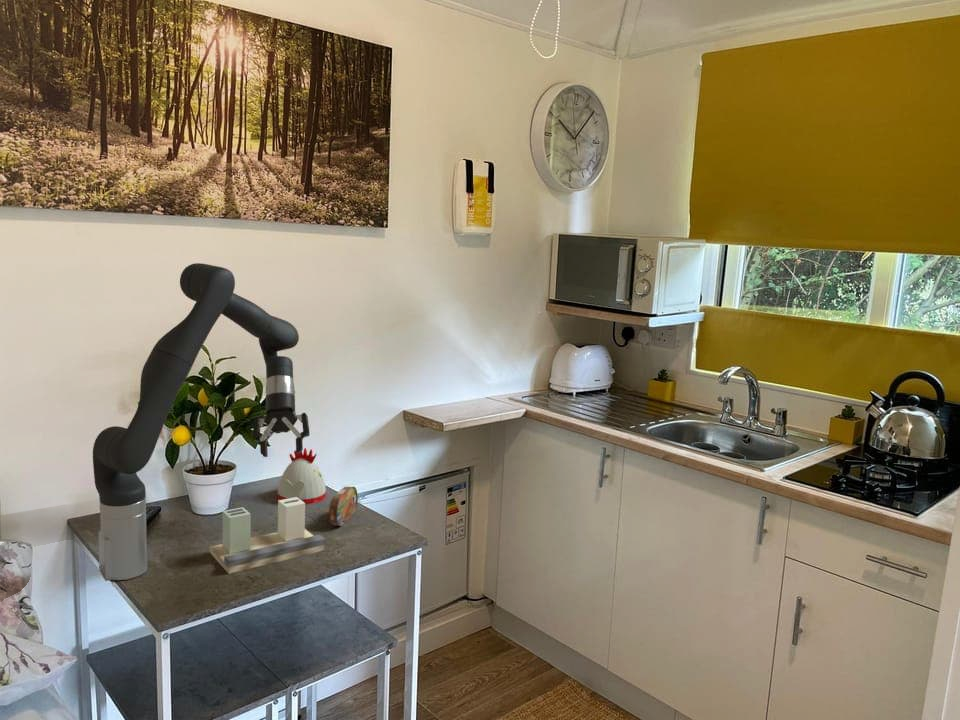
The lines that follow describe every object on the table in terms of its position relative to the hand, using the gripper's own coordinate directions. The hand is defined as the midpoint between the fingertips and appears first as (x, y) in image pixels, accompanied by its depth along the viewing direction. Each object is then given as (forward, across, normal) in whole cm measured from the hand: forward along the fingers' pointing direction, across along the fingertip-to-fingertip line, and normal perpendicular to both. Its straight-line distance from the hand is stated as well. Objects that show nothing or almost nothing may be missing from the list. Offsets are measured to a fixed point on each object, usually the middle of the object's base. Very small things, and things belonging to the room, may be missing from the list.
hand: (281, 454), depth 189 cm
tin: (+16, +12, +17) cm, 27 cm away
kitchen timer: (+6, -1, +31) cm, 32 cm away
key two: (+23, -10, -6) cm, 26 cm away
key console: (+24, -3, -3) cm, 25 cm away
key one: (+21, +1, +2) cm, 21 cm away
